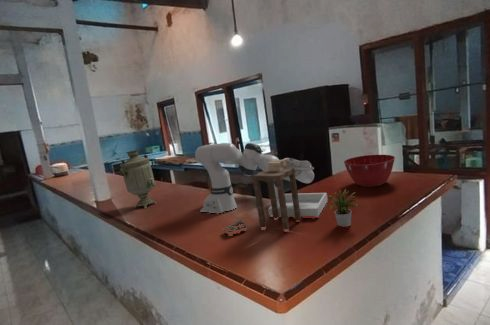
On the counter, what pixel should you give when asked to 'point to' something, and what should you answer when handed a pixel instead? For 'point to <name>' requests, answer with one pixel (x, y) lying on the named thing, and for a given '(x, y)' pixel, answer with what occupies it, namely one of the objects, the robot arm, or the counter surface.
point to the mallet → (278, 164)
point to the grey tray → (304, 204)
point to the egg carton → (236, 225)
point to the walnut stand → (279, 180)
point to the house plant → (343, 208)
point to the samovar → (138, 177)
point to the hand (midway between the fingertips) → (283, 161)
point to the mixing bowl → (370, 169)
